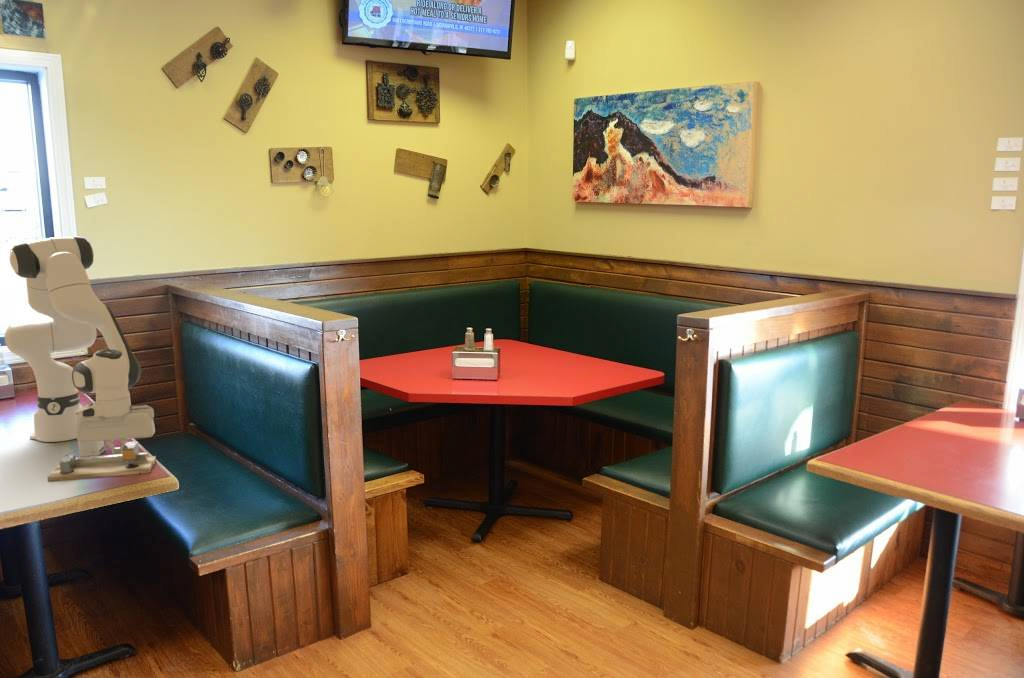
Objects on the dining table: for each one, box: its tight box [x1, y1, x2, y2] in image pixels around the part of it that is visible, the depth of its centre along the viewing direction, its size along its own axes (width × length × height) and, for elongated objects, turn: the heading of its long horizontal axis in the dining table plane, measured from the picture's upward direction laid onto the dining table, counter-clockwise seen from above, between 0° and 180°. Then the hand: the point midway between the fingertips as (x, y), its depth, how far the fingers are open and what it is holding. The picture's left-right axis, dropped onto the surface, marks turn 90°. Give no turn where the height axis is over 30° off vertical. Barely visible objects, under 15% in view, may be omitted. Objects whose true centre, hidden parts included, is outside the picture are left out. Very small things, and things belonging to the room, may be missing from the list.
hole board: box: [47, 455, 157, 482], centre depth 235 cm, size 12×26×1 cm, turn 105°
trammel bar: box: [59, 451, 148, 474], centre depth 235 cm, size 8×22×3 cm, turn 105°
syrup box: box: [74, 405, 106, 457], centre depth 249 cm, size 6×6×14 cm
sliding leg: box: [122, 440, 140, 466], centre depth 236 cm, size 7×3×6 cm, turn 15°
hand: (118, 453), depth 235 cm, fingers closed
